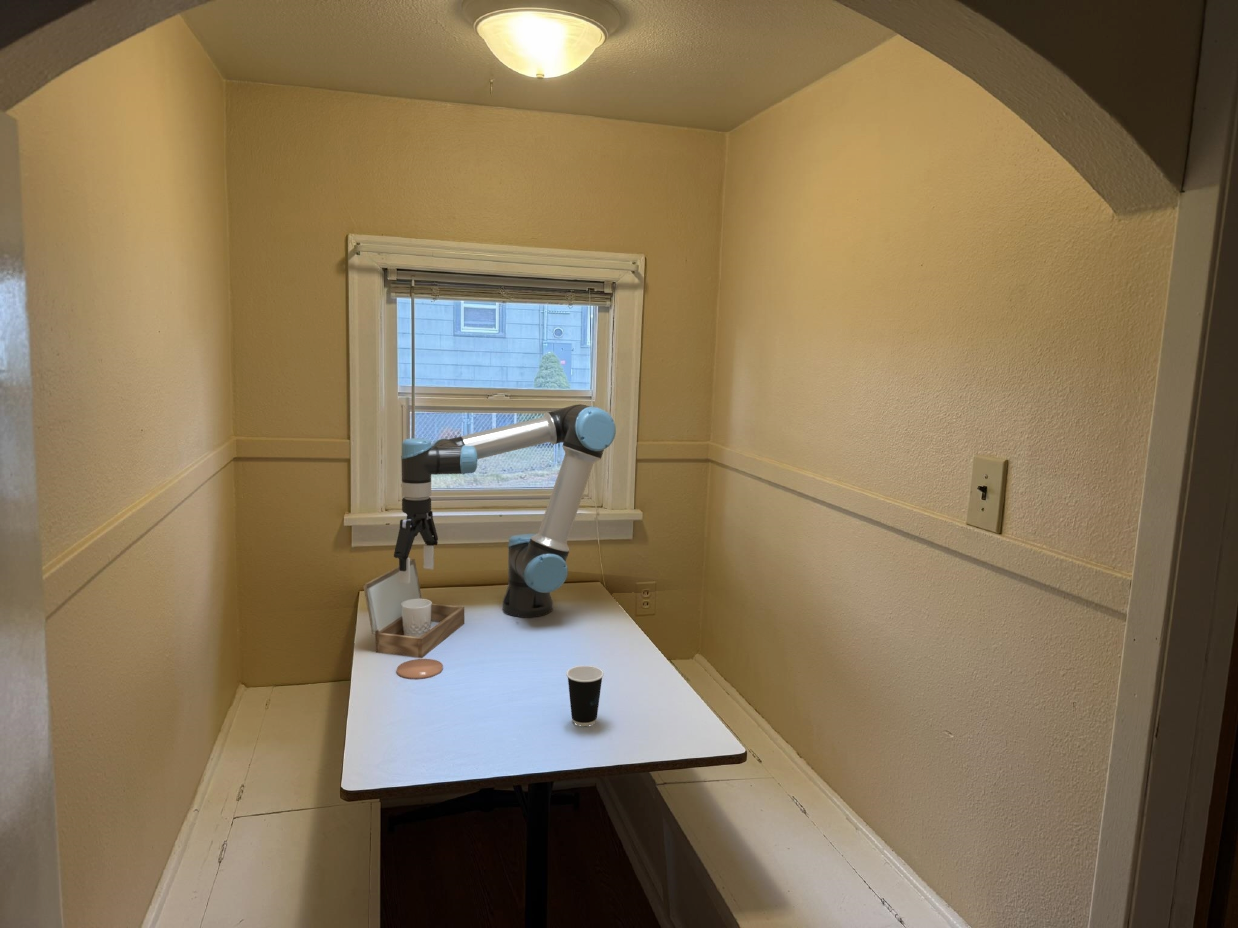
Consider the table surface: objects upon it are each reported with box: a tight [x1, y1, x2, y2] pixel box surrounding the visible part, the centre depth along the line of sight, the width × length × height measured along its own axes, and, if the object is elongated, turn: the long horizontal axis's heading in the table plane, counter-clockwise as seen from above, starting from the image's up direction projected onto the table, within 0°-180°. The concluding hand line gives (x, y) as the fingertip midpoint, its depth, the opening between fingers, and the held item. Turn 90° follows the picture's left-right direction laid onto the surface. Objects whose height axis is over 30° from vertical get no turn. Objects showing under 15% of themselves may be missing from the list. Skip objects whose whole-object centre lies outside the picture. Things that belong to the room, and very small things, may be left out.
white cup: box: [401, 598, 433, 637], centre depth 214 cm, size 8×8×10 cm
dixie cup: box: [565, 665, 605, 727], centre depth 169 cm, size 8×8×11 cm
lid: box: [362, 558, 423, 635], centre depth 216 cm, size 13×26×1 cm
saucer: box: [396, 658, 444, 680], centre depth 194 cm, size 11×11×1 cm
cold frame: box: [374, 603, 466, 659], centre depth 215 cm, size 13×26×6 cm, turn 167°
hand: (417, 575), depth 212 cm, fingers open, 13 cm apart
